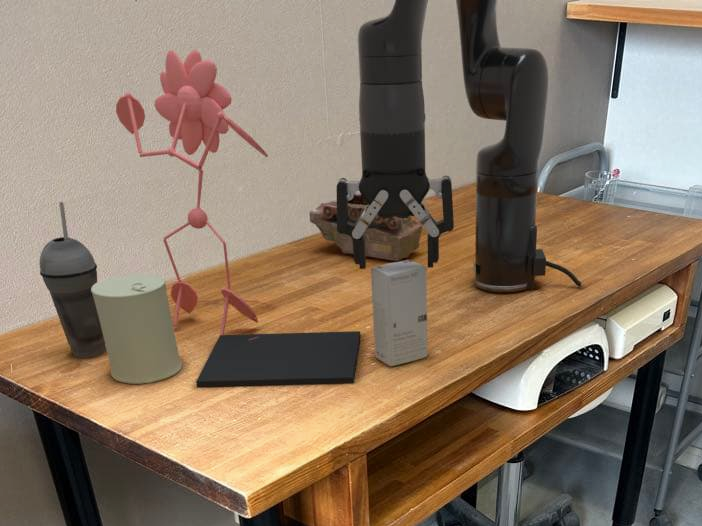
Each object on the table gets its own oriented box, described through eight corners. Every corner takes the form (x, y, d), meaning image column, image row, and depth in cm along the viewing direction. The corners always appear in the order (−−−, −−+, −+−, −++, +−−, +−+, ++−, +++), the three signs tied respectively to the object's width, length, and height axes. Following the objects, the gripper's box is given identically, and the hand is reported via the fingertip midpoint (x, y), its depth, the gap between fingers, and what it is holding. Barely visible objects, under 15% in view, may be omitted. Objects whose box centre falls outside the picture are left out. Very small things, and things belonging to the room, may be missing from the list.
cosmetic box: (391, 368, 112) (387, 275, 105) (373, 357, 115) (368, 267, 108) (430, 356, 114) (428, 265, 108) (411, 346, 118) (408, 257, 111)
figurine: (264, 345, 117) (227, 51, 99) (130, 321, 129) (75, 54, 110) (329, 314, 128) (306, 44, 110) (200, 294, 140) (160, 48, 121)
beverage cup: (69, 343, 123) (30, 197, 112) (120, 340, 123) (87, 194, 112) (56, 363, 117) (14, 211, 106) (110, 360, 117) (74, 208, 106)
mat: (360, 336, 121) (360, 330, 121) (353, 383, 108) (353, 377, 108) (220, 340, 122) (219, 334, 122) (196, 387, 109) (195, 381, 108)
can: (138, 390, 109) (116, 297, 102) (97, 372, 114) (74, 283, 107) (196, 366, 114) (179, 277, 107) (155, 351, 119) (136, 264, 113)
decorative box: (382, 273, 145) (379, 213, 140) (296, 255, 155) (290, 199, 150) (427, 253, 154) (426, 197, 148) (343, 238, 164) (339, 184, 158)
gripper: (327, 132, 96) (338, 277, 105) (455, 128, 95) (454, 274, 104) (333, 122, 102) (342, 259, 111) (453, 118, 102) (452, 257, 111)
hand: (396, 266), depth 108 cm, fingers open, 8 cm apart
